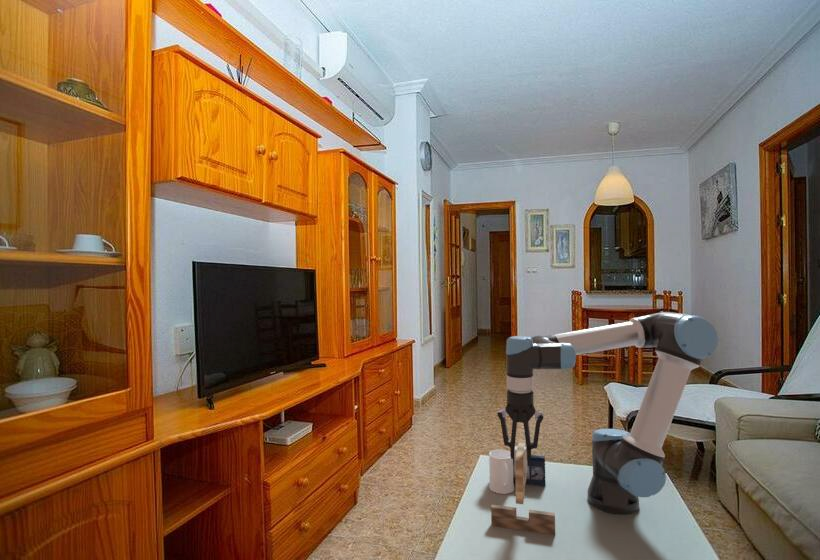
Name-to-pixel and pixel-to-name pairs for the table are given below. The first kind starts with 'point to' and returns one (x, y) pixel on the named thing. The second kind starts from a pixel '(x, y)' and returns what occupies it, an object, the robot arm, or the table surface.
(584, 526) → the table surface
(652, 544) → the table surface
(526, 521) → the standing plate
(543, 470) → the vhs cassette tape
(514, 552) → the table surface
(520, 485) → the cross plate
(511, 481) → the mug
